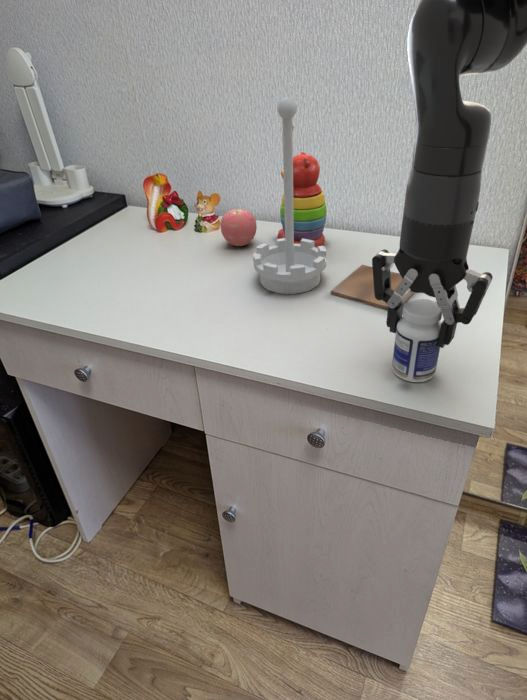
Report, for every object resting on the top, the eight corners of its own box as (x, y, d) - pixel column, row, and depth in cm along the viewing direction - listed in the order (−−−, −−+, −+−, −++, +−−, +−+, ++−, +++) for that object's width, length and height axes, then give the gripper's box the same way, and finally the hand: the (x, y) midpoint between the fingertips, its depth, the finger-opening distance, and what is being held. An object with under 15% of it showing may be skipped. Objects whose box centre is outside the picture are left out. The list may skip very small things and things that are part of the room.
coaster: (424, 282, 87) (424, 279, 87) (396, 312, 79) (396, 309, 79) (362, 267, 93) (362, 264, 93) (330, 293, 85) (330, 290, 85)
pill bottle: (436, 361, 68) (448, 298, 62) (433, 387, 64) (446, 322, 58) (393, 355, 70) (402, 293, 64) (388, 379, 65) (396, 315, 60)
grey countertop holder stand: (321, 299, 84) (325, 105, 66) (247, 294, 86) (233, 106, 69) (329, 265, 94) (335, 90, 77) (263, 262, 97) (254, 91, 79)
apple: (220, 239, 107) (217, 203, 102) (254, 235, 108) (251, 199, 103) (224, 253, 101) (220, 215, 96) (259, 249, 102) (257, 211, 97)
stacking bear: (277, 233, 108) (275, 148, 98) (323, 232, 108) (326, 146, 97) (277, 254, 99) (274, 163, 89) (327, 253, 99) (330, 161, 88)
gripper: (363, 209, 55) (354, 334, 65) (498, 233, 48) (465, 370, 58) (391, 190, 60) (379, 309, 70) (517, 209, 53) (484, 339, 62)
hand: (418, 336), depth 64 cm, fingers closed on pill bottle, 5 cm apart
